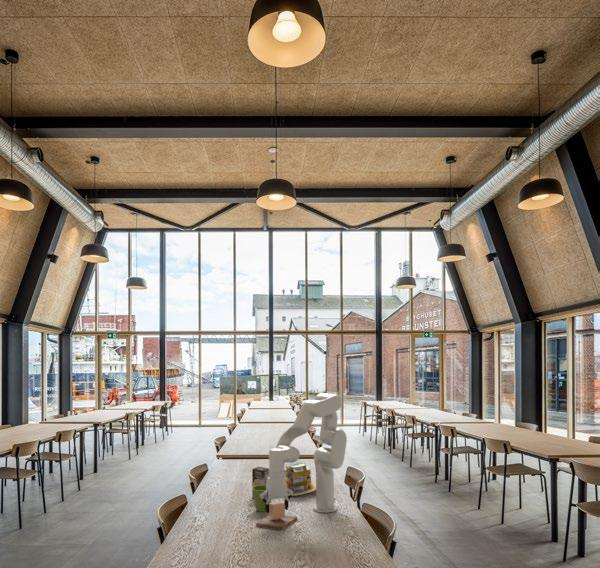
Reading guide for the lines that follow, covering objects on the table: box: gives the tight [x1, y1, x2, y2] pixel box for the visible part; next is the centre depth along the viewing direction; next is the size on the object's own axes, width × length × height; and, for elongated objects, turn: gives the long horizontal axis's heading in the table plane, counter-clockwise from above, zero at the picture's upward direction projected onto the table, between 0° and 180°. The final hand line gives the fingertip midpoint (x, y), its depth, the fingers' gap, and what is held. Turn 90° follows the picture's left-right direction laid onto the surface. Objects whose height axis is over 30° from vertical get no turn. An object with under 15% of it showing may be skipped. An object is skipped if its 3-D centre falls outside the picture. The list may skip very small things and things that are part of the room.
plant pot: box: [251, 485, 272, 512], centre depth 265 cm, size 12×12×11 cm
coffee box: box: [251, 466, 269, 499], centre depth 287 cm, size 9×6×16 cm
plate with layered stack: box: [284, 460, 316, 497], centre depth 298 cm, size 25×25×17 cm
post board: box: [255, 514, 298, 532], centre depth 244 cm, size 16×14×8 cm
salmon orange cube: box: [268, 500, 286, 519], centre depth 245 cm, size 6×6×6 cm
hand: (276, 510), depth 244 cm, fingers open, 9 cm apart
